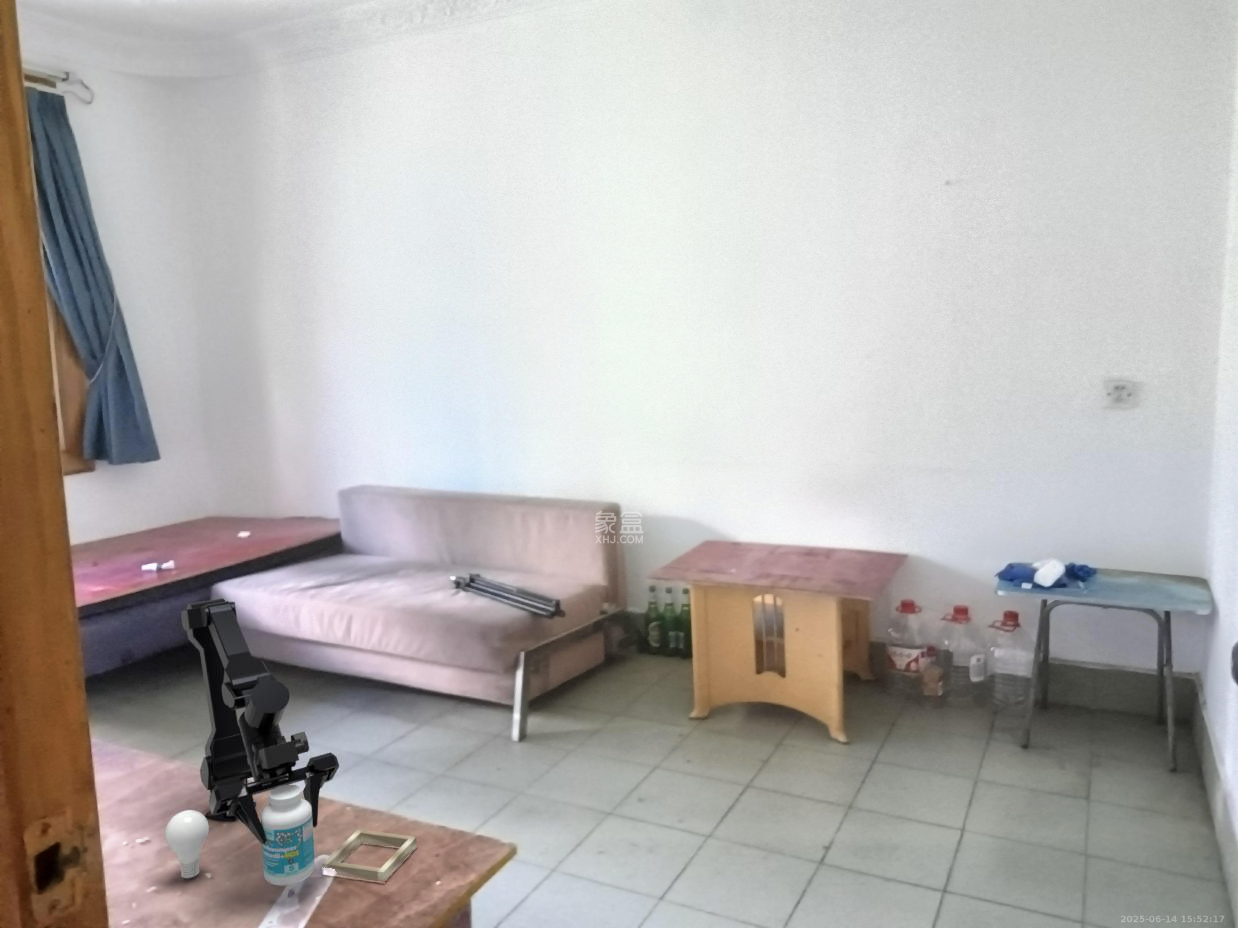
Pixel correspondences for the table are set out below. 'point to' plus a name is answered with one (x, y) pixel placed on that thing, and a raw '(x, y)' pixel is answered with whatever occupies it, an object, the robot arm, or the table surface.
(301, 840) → the pill bottle
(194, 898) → the table surface
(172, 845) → the lightbulb
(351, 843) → the wooden collar
